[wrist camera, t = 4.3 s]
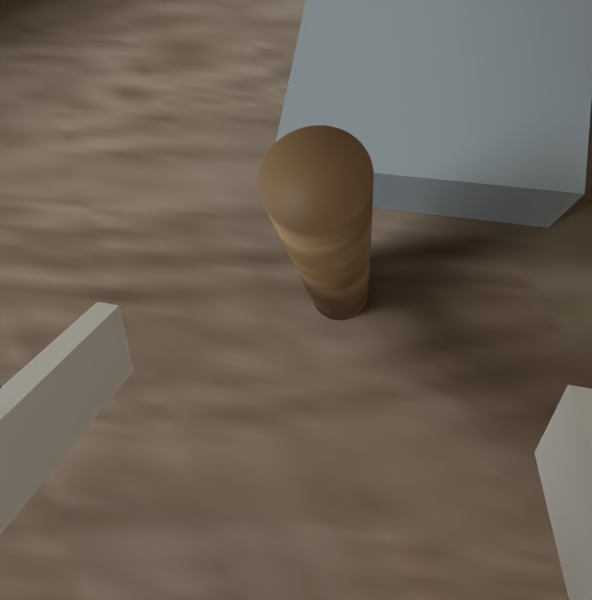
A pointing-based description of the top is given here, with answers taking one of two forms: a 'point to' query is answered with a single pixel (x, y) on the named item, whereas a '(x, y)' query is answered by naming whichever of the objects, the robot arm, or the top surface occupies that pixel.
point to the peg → (323, 213)
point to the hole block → (453, 100)
